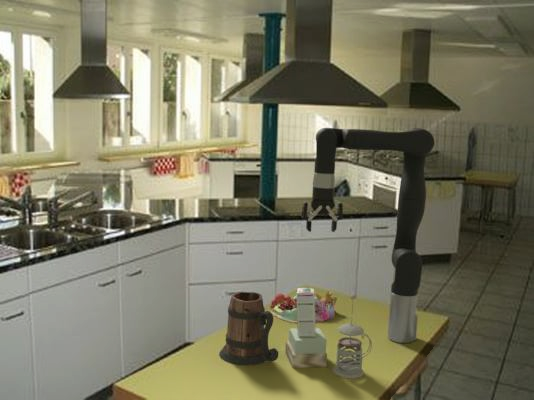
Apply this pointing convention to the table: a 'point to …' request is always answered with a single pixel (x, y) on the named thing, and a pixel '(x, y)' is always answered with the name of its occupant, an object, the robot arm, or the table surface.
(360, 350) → the french press
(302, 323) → the syrup box
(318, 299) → the candy dessert plate
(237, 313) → the tankard
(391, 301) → the robot arm
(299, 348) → the tower top block
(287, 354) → the tower bottom block
